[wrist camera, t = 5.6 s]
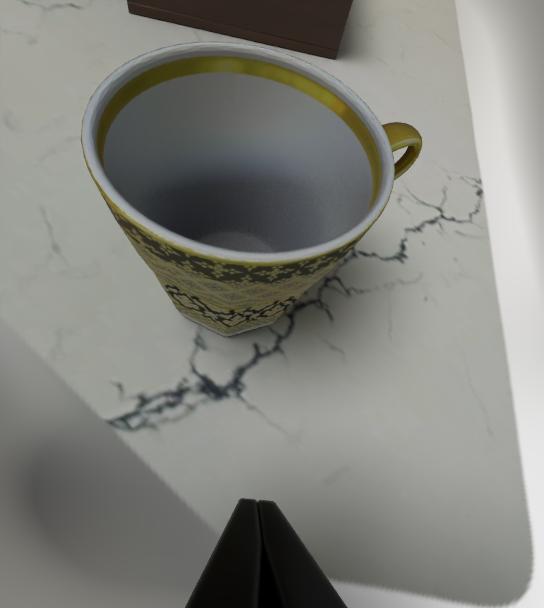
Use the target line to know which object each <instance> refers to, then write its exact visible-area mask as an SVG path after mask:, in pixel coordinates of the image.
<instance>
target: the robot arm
mask: <svg viewBox="0 0 544 608" xmlns="http://www.w3.org/2000/svg"><path fill="white" fill-rule="evenodd" d="M185 608H347V606H346V605H345V604H344V602H343V601H342V599H341V598H340V596H339V595H338V593H337V592H336V591H335V589H334V588H333V586H332V585H331V583H330V582H329V580H328V579H327V577H326V576H325V574H324V573H323V571H322V570H321V569H320V567H319V566H318V564H317V563H316V561H315V560H314V558H313V557H312V555H311V554H310V553H309V551H308V550H307V548H306V547H305V545H304V544H303V542H302V541H301V539H300V538H299V537H298V535H297V534H296V532H295V531H294V529H293V528H292V526H291V525H290V523H289V522H288V521H287V519H286V518H285V516H284V515H283V513H282V512H281V510H280V509H279V507H278V506H277V505H276V503H275V502H274V501H267V500H259V501H258V502H257V501H256V500H255V499H245V498H241V499H240V500H239V502H238V504H237V506H236V508H235V509H234V511H233V513H232V515H231V517H230V519H229V521H228V523H227V525H226V527H225V529H224V531H223V533H222V535H221V537H220V539H219V541H218V543H217V545H216V547H215V549H214V551H213V553H212V555H211V557H210V559H209V561H208V563H207V565H206V567H205V569H204V571H203V573H202V575H201V577H200V579H199V581H198V583H197V585H196V587H195V589H194V591H193V593H192V595H191V597H190V599H189V601H188V603H187V605H186V607H185Z"/></svg>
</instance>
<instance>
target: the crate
mask: <svg viewBox="0 0 544 608" xmlns="http://www.w3.org/2000/svg"><path fill="white" fill-rule="evenodd" d="M127 1H128V2H127V3H128V9H129V12H130V13H134V14H138V15H143V16H147V17H151V18H156V19H160V20H165V21H169V22H173V23H178V24H182V25H186V26H191V27H195V28H200V29H204V30H208V31H213V32H217V33H222V34H226V35H230V36H235V37H239V38H243V39H248V40H252V41H257V42H261V43H265V44H270V45H274V46H279V47H283V48H287V49H292V50H296V51H301V52H305V53H309V54H314V55H318V56H322V57H327V58H331V59H335V58H336V54H337V51H338V48H339V45H340V41H341V38H342V35H343V31H344V28H345V25H346V22H347V18H348V15H349V12H350V8H351V5H352V2H353V0H127Z"/></svg>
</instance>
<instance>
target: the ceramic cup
mask: <svg viewBox="0 0 544 608" xmlns="http://www.w3.org/2000/svg"><path fill="white" fill-rule="evenodd" d="M81 142H82V148H83V154H84V158H85V161H86V164H87V167H88V169H89V172H90V174H91V176H92V178H93V180H94V182H95V183H96V185H97V187H98V189H99V191H100V192H101V194H102V196H103V198H104V200H105V201H106V203H107V205H108V207H109V209H110V210H111V212H112V214H113V216H114V218H115V219H116V221H117V222H118V224H119V225H120V227H121V228H122V230H123V231H124V233H125V234H126V236H127V237H128V239H129V240H130V242H131V243H132V245H133V246H134V248H135V249H136V251H137V252H138V254H139V255H140V256H141V257H142V259H143V260H144V261H145V262H146V264H147V265H148V266H149V267H150V268H151V269H152V271H153V272H154V273H155V275H156V277H157V279H158V280H159V282H160V284H161V285H162V287H163V288H164V290H165V291H166V293H167V294H168V296H169V297H170V299H171V300H172V302H173V303H174V305H175V307H176V308H177V309H178V311H179V312H180V314H181V315H182V316H184V317H186V318H188V319H190V320H192V321H194V322H196V323H198V324H200V325H202V326H204V327H206V328H208V329H210V330H212V331H214V332H216V333H218V334H220V335H222V336H225V337H228V336H232V335H235V334H239V333H242V332H246V331H249V330H253V329H256V328H260V327H264V326H267V325H270V324H272V323H274V322H275V321H276V320H277V319H278V318H279V317H280V316H281V315H282V314H283V313H284V312H285V311H286V310H287V309H288V308H289V307H290V306H291V305H292V304H293V303H294V302H295V301H297V300H298V299H299V298H300V296H301V295H302V294H303V293H304V292H305V291H306V290H307V289H308V288H310V287H311V286H312V285H314V284H315V283H316V282H317V281H319V280H320V279H321V278H322V277H323V276H325V275H326V274H327V273H328V272H329V271H330V270H331V269H332V268H333V267H334V266H335V265H336V264H337V263H338V262H339V261H340V260H341V259H342V258H343V257H344V256H345V255H346V254H347V253H348V252H349V251H350V250H351V249H352V248H353V247H354V246H355V245H356V243H357V242H358V241H359V240H360V239H361V238H362V237H363V235H364V234H365V233H366V232H367V231H368V230H369V228H370V227H371V226H372V225H373V224H374V223H375V221H376V220H377V219H378V218H379V216H380V215H381V213H382V212H383V210H384V208H385V206H386V205H387V203H388V200H389V197H390V194H391V191H392V188H393V182H394V180H396V179H397V178H398V177H400V176H401V175H402V174H403V173H405V172H406V171H407V170H408V169H409V168H410V167H411V165H412V164H413V163H414V162H415V160H416V159H417V157H418V155H419V153H420V151H421V148H422V138H421V136H420V134H419V132H418V131H417V130H416V129H415V128H414V127H412V126H411V125H408V124H406V123H399V122H395V123H388V124H385V125H381V123H380V122H379V120H378V119H377V117H376V116H375V114H374V113H373V112H372V111H371V109H370V108H369V107H368V106H367V105H366V103H365V102H364V101H363V100H362V99H361V98H360V97H359V96H358V95H357V94H355V93H354V92H353V91H352V90H351V89H349V88H348V87H347V86H346V85H344V84H343V83H342V82H341V81H339V80H338V79H336V78H335V77H333V76H331V75H330V74H328V73H327V72H325V71H324V70H322V69H320V68H318V67H316V66H314V65H312V64H310V63H308V62H306V61H303V60H301V59H299V58H296V57H294V56H291V55H288V54H285V53H282V52H279V51H276V50H272V49H267V48H263V47H258V46H254V45H247V44H241V43H233V42H194V43H186V44H178V45H173V46H169V47H165V48H160V49H157V50H154V51H151V52H149V53H146V54H143V55H141V56H138V57H136V58H135V59H133V60H131V61H129V62H127V63H125V64H124V65H122V66H121V67H120V68H118V69H117V70H115V71H114V72H113V73H112V74H110V75H109V76H108V77H107V78H106V79H105V80H104V81H103V82H102V83H101V85H100V86H99V87H98V88H97V89H96V91H95V92H94V94H93V95H92V97H91V99H90V101H89V103H88V105H87V108H86V110H85V114H84V117H83V121H82V135H81ZM406 146H408V148H407V150H406V152H405V153H404V155H403V156H402V157H401V158H400V159H399V160H398V161H397V162H396V163H395V164H394V157H393V152H394V151H396V150H398V149H401V148H404V147H406Z"/></svg>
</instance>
